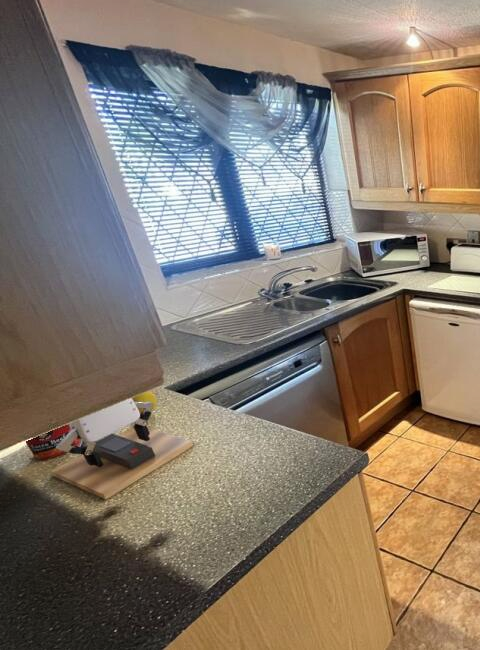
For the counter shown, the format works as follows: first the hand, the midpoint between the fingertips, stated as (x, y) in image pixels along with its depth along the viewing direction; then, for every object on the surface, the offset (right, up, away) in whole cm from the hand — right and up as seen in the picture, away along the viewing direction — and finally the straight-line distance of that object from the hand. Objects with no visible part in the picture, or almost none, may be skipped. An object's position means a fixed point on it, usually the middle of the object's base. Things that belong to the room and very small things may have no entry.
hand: (122, 451), depth 89 cm
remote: (0, -1, 0) cm, 1 cm away
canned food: (-21, -1, +5) cm, 21 cm away
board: (0, -2, +1) cm, 3 cm away
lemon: (-11, +4, +17) cm, 21 cm away
